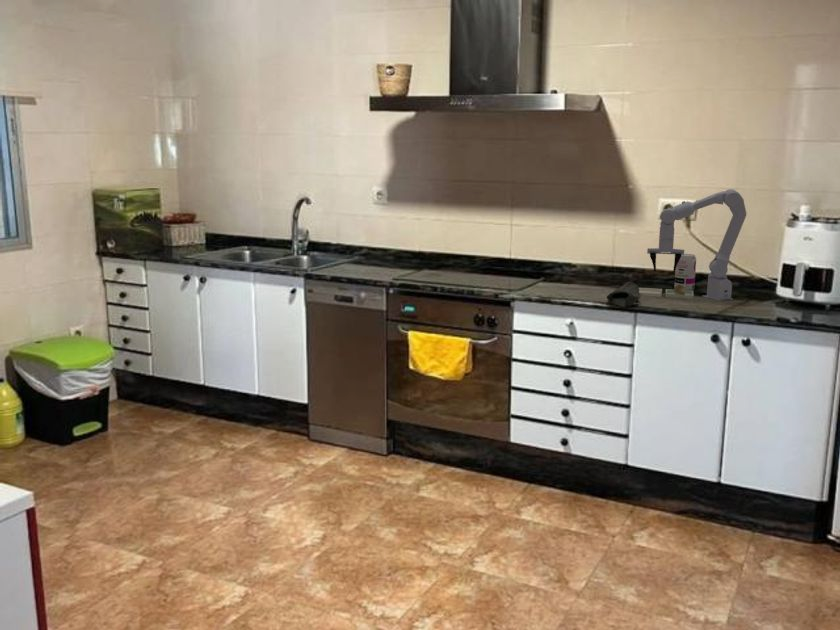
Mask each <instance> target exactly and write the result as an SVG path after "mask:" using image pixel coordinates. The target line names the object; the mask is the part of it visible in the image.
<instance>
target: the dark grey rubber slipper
mask: <svg viewBox="0 0 840 630" xmlns="http://www.w3.org/2000/svg"><path fill="white" fill-rule="evenodd" d="M639 288H640V287H639V286H638V285H637V284H636V283H634V282H632V281H628V282H625V284H623V285H622V286H621V287H619V288H616V289H615V290H613V291H612V292H610V293H609V294H608V295H607V296H606V299H607V301H608V302H609V303H610V304H612V305H614V306H615V307H620V308H626V307H630V306H632V305H635V303H636V302H638V300H640V298H641V297H642V296H641V294H640V293H639Z"/></svg>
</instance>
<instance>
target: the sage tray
mask: <svg viewBox="0 0 840 630" xmlns="http://www.w3.org/2000/svg"><path fill="white" fill-rule="evenodd" d="M674 290H675V289H669V288H668V289H667V288H666V289H665V298H673V299H674V298H676V299H689V300H691V299H692V300H693V299H694V296H695V295H694V290H685V294H684V295H677V294H674Z"/></svg>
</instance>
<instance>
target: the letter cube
mask: <svg viewBox="0 0 840 630" xmlns="http://www.w3.org/2000/svg"><path fill="white" fill-rule="evenodd" d="M673 290H674V294H677V295H684V294H685V285H675V288H674V289H673Z"/></svg>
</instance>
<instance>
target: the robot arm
mask: <svg viewBox="0 0 840 630" xmlns="http://www.w3.org/2000/svg"><path fill="white" fill-rule="evenodd" d="M744 200H745V199H744V198H743V196H742V195H741V194H740V192H738V191H737V190H735V189H730V188H729V189H727V190H725V191H719V192H716V193H713V194H711V195H707V196H706V197H703V198H702V199H699V200H696V201H693V202H691V201H685V200H684V201H681V203H679V204H677V205H675V206H673V205H671V206H670V208H665V209H663V210H662V211H661V213H660V215H659V218H660V222H659V225H660V227H659V237H658V247H657V248H649V247H647V250H646V253H647V254H649V257H650V260H651V262H652V266H653V272H657V271H656V270H657V255H674V264H673V271H672V272H673V273H675V270H676V266H677V264H678V262H679V260H680V258H681V255H684V254H685V249H681V248H680V249H679V248H674V244H675V243H674V240H675V239H674V238H675V226H674V225H675V221H679V220H681V219H684V218H687V217H690V216H692V215H694V214H695V212H696V211H698V210H701V209H703V208H706V207H709V206H712V205H714V204H717V205H722V206H723V205H724V204H725V205H726V206H727V207H728V208H729V211H730V212H731V214H732V216H731V219H730V221H729V223H728V227H727V228H726V232H725V233H724V236H723V239H722V240H721V243H720V246H719V248H718V251H717V253H716V254H715V257H714V259H712V260H711V261H710V262H709V265H708V268H709V271H710V273H708V276H707V286H706V287H707V289H706V294H705V295H703V297H704V298H707V299H711V300H716V301H723V300H724V301H725V300H731V301H732V300H733V298H732V291H733V283H732V281H731V280H730V279H728V275H727V273H728V265H729V261H730V257H731V254H732V252H733V250H734V246H735V245H736V242H737V239H738V237H739V235H740V232H741V229H742V227H743V225H744V222H745V220H746V218H747V210H746V205H745V201H744Z"/></svg>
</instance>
